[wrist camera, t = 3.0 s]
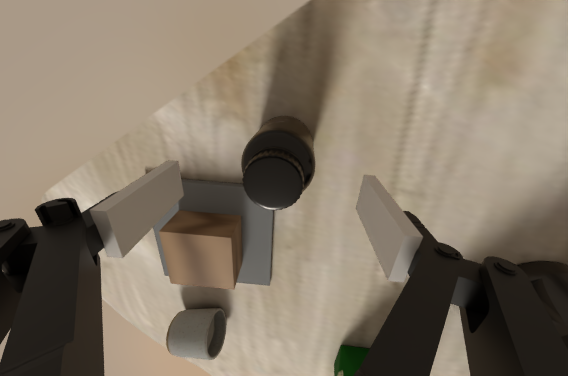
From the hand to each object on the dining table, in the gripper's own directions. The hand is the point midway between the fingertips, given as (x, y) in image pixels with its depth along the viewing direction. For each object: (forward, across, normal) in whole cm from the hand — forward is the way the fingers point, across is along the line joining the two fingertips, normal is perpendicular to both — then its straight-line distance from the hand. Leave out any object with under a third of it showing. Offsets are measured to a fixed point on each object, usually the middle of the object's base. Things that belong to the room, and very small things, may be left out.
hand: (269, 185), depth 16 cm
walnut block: (+12, +10, +15) cm, 22 cm away
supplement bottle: (+13, 0, 0) cm, 13 cm away
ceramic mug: (+13, +12, +36) cm, 40 cm away
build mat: (+13, +10, +15) cm, 22 cm away
